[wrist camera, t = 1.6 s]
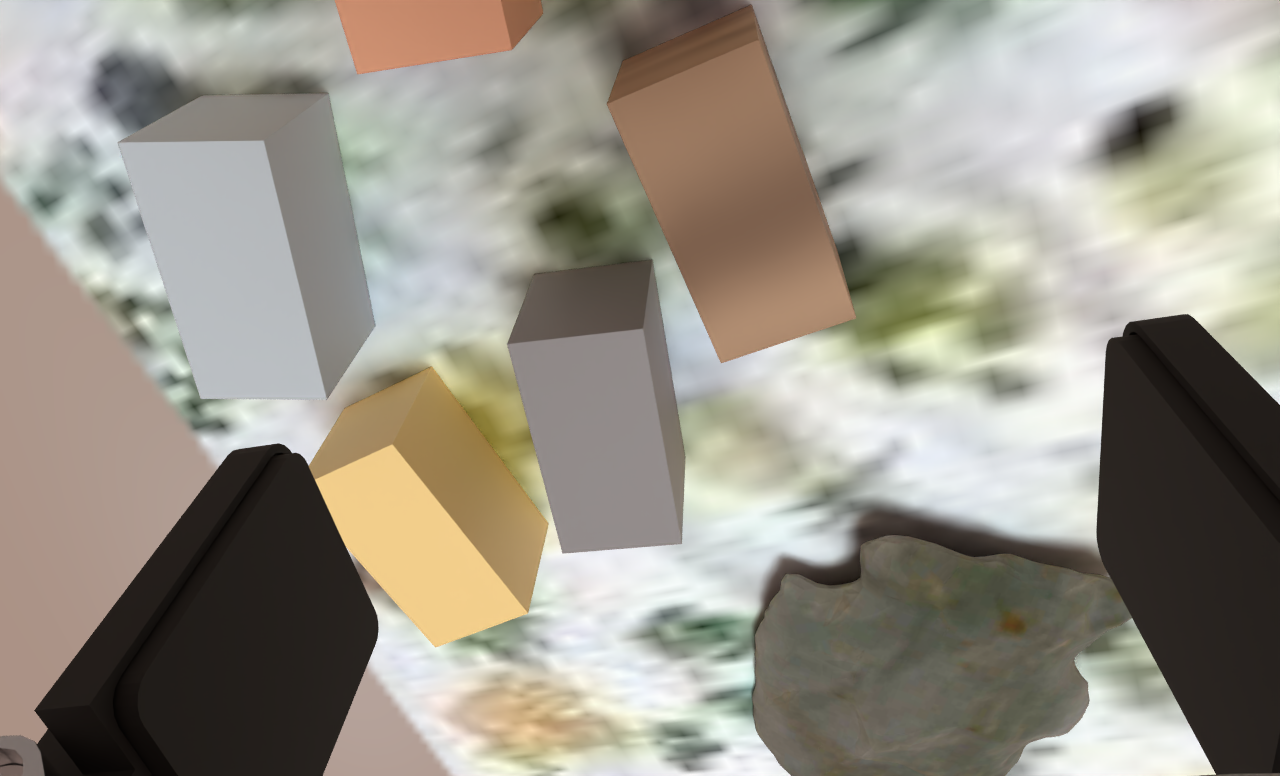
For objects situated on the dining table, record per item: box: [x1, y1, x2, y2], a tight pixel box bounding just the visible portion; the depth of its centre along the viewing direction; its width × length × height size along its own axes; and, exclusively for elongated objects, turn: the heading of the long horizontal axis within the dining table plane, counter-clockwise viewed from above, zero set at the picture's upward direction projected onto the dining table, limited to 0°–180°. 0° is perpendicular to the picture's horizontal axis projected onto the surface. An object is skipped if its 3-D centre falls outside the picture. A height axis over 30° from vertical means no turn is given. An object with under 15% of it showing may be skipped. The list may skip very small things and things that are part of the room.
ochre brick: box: [309, 367, 548, 647], centre depth 34 cm, size 8×4×5 cm, turn 29°
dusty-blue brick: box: [118, 93, 375, 400], centre depth 29 cm, size 8×4×5 cm, turn 2°
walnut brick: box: [607, 5, 856, 363], centre depth 27 cm, size 8×4×5 cm, turn 23°
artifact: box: [752, 535, 1132, 776], centre depth 38 cm, size 14×4×15 cm
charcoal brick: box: [507, 260, 685, 553], centre depth 31 cm, size 8×4×5 cm, turn 9°
